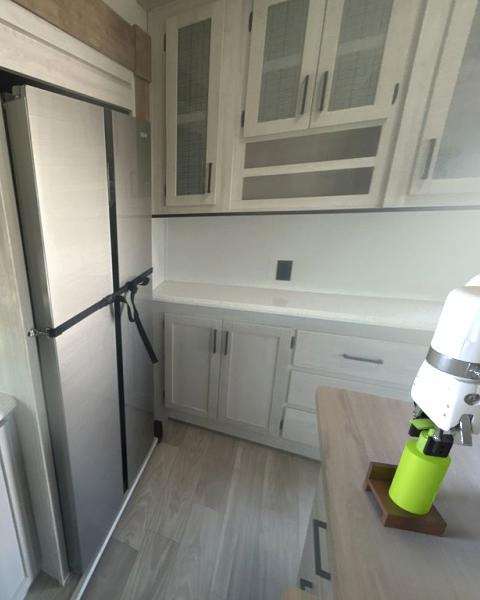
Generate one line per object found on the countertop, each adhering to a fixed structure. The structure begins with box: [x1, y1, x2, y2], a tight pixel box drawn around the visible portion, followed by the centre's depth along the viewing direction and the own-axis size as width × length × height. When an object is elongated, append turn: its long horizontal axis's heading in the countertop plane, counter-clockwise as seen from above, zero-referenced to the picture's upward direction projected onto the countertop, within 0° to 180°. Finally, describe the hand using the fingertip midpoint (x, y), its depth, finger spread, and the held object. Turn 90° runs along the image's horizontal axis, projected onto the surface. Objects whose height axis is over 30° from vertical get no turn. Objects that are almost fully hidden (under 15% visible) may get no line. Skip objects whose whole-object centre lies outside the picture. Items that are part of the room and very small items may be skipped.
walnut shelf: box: [362, 461, 448, 538], centre depth 67 cm, size 9×9×9 cm
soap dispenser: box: [389, 419, 452, 515], centre depth 62 cm, size 6×7×20 cm
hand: (426, 444), depth 60 cm, fingers open, 3 cm apart
